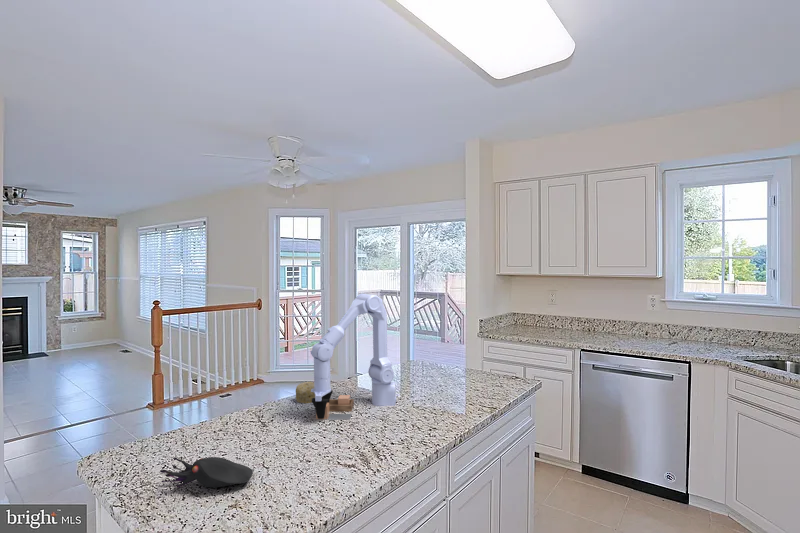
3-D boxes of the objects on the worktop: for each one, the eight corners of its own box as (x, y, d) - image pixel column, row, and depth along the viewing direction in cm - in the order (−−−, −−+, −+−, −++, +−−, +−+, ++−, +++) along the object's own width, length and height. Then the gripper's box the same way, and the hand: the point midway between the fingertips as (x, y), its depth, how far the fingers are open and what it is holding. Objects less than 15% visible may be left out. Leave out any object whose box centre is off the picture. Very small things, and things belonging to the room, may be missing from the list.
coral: (316, 396, 176) (316, 378, 176) (321, 403, 168) (320, 384, 168) (294, 399, 173) (293, 381, 173) (297, 407, 164) (297, 387, 164)
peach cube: (350, 406, 162) (350, 395, 162) (348, 410, 158) (348, 398, 158) (339, 406, 162) (339, 395, 162) (338, 410, 158) (337, 398, 158)
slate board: (351, 416, 154) (351, 413, 154) (349, 421, 149) (349, 419, 148) (319, 416, 154) (319, 414, 154) (315, 422, 149) (315, 419, 149)
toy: (166, 472, 112) (182, 437, 112) (241, 499, 114) (256, 465, 114) (147, 493, 102) (165, 454, 102) (230, 522, 104) (247, 484, 104)
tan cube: (329, 415, 153) (329, 402, 153) (327, 419, 149) (327, 406, 149) (318, 415, 153) (318, 402, 153) (316, 419, 149) (315, 406, 149)
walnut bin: (353, 406, 164) (353, 399, 163) (351, 413, 157) (351, 405, 156) (325, 407, 164) (325, 399, 164) (321, 413, 157) (321, 405, 157)
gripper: (315, 371, 158) (316, 407, 159) (306, 383, 144) (306, 422, 144) (334, 371, 158) (334, 407, 158) (326, 382, 144) (327, 422, 144)
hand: (322, 414), depth 151 cm, fingers open, 6 cm apart
